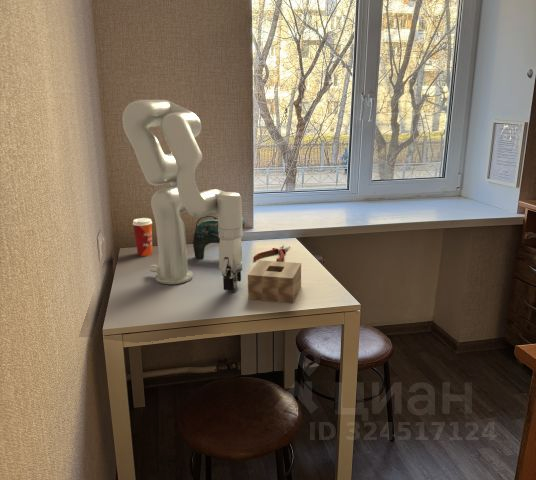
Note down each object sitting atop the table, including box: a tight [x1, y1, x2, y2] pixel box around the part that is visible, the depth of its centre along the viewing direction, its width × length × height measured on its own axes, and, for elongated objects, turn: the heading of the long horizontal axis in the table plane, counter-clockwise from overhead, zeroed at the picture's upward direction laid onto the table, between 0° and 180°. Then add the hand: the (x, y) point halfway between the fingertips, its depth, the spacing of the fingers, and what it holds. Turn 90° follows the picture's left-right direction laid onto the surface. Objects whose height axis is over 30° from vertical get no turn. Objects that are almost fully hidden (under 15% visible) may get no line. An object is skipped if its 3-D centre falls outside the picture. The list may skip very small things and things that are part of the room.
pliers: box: [252, 245, 291, 262], centre depth 193 cm, size 12×20×3 cm, turn 154°
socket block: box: [247, 259, 302, 304], centre depth 155 cm, size 14×14×8 cm
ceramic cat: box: [192, 215, 246, 260], centre depth 187 cm, size 20×6×20 cm, turn 84°
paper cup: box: [132, 217, 153, 257], centre depth 194 cm, size 8×8×14 cm
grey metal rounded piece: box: [227, 262, 243, 293], centre depth 158 cm, size 7×7×9 cm
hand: (232, 284), depth 158 cm, fingers open, 7 cm apart
